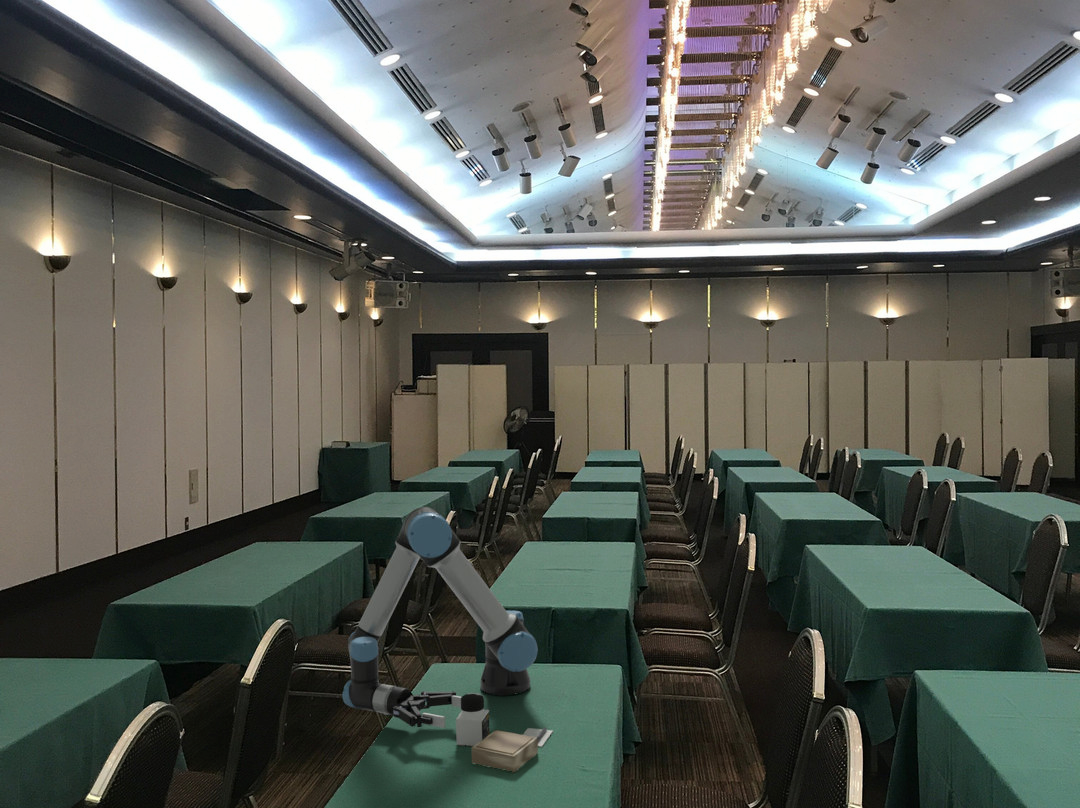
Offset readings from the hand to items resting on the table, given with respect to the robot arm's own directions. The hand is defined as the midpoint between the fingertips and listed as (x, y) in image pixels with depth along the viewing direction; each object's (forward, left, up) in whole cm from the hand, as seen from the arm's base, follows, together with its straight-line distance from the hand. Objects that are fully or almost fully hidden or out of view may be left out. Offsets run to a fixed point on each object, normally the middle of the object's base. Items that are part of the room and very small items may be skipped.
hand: (459, 713), depth 239 cm
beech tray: (+5, +17, -7) cm, 19 cm away
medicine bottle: (-1, +4, -7) cm, 8 cm away
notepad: (-9, +18, -8) cm, 21 cm away
